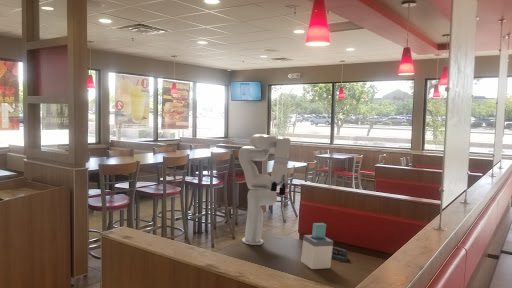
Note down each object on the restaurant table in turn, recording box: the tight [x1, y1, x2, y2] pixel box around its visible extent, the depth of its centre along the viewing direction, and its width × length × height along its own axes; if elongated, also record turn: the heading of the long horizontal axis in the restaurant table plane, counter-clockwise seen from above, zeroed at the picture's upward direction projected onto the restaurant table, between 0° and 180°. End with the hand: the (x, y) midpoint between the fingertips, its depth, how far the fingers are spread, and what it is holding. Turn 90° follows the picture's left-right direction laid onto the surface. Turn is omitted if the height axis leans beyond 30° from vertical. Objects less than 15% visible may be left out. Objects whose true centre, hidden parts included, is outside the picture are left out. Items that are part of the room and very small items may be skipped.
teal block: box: [311, 222, 327, 240], centre depth 205 cm, size 3×6×10 cm, turn 115°
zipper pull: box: [331, 246, 349, 262], centre depth 225 cm, size 9×7×25 cm
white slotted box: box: [300, 234, 334, 270], centre depth 205 cm, size 11×11×14 cm
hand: (277, 193), depth 209 cm, fingers open, 9 cm apart
